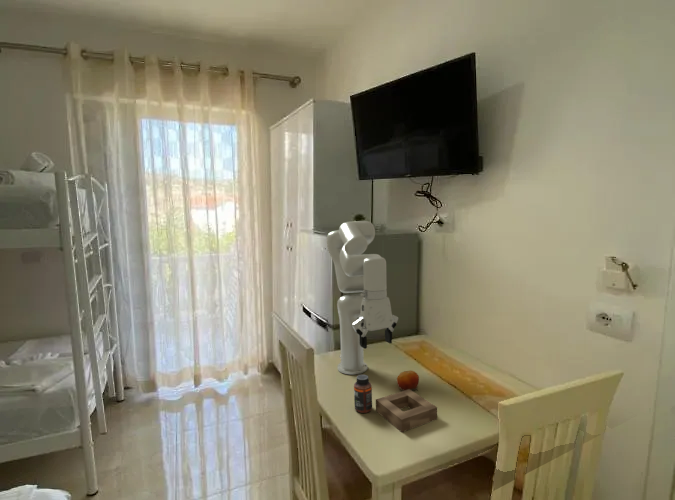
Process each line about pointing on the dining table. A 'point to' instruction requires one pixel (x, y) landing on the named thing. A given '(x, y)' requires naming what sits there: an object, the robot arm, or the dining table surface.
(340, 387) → the dining table surface
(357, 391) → the supplement bottle
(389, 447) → the dining table surface
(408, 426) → the socket block
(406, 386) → the fruit
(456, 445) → the dining table surface
